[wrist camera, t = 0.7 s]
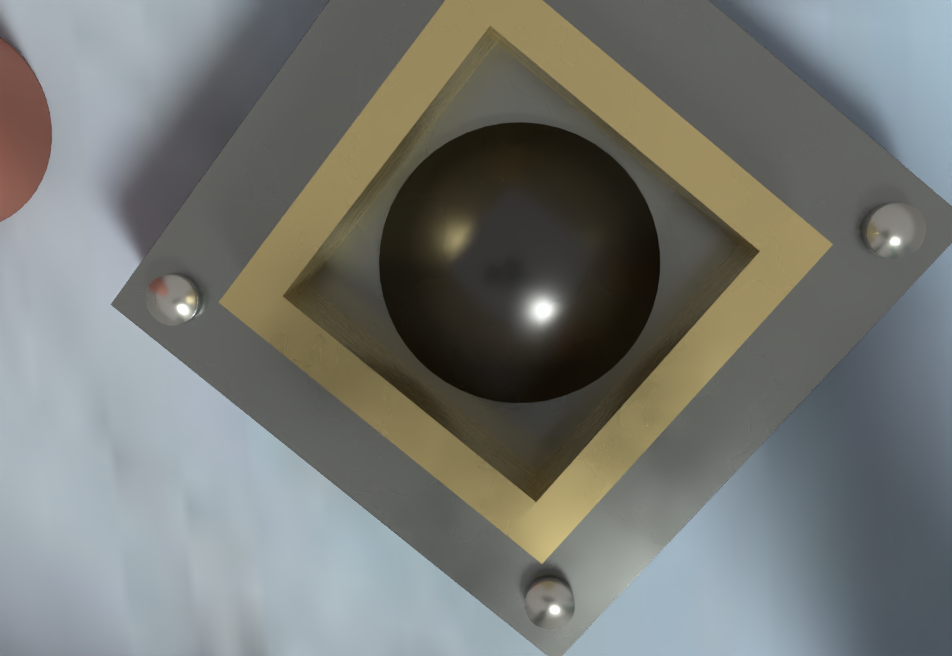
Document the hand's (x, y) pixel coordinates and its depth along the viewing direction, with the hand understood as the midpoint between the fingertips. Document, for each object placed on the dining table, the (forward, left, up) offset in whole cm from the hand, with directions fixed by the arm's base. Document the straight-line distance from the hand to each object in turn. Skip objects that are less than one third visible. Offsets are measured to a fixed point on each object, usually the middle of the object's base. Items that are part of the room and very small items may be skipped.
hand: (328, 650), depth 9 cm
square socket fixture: (+3, +1, -14) cm, 14 cm away
